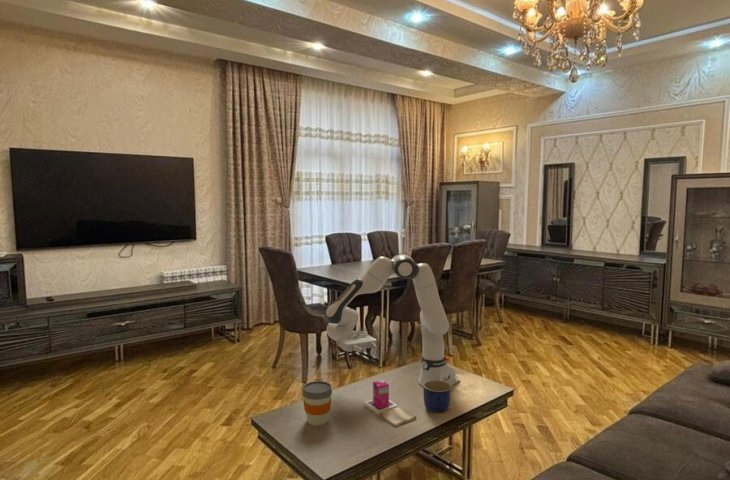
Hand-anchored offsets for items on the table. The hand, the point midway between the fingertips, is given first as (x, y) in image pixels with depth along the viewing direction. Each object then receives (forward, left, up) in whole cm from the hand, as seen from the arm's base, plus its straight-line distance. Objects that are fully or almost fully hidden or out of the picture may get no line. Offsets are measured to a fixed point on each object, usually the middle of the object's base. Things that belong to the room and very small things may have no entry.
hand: (369, 349), depth 211 cm
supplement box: (+1, +10, -24) cm, 26 cm away
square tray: (+1, +10, -24) cm, 26 cm away
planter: (-19, +26, -24) cm, 41 cm away
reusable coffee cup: (+31, +4, -24) cm, 39 cm away
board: (+1, +22, -24) cm, 33 cm away
